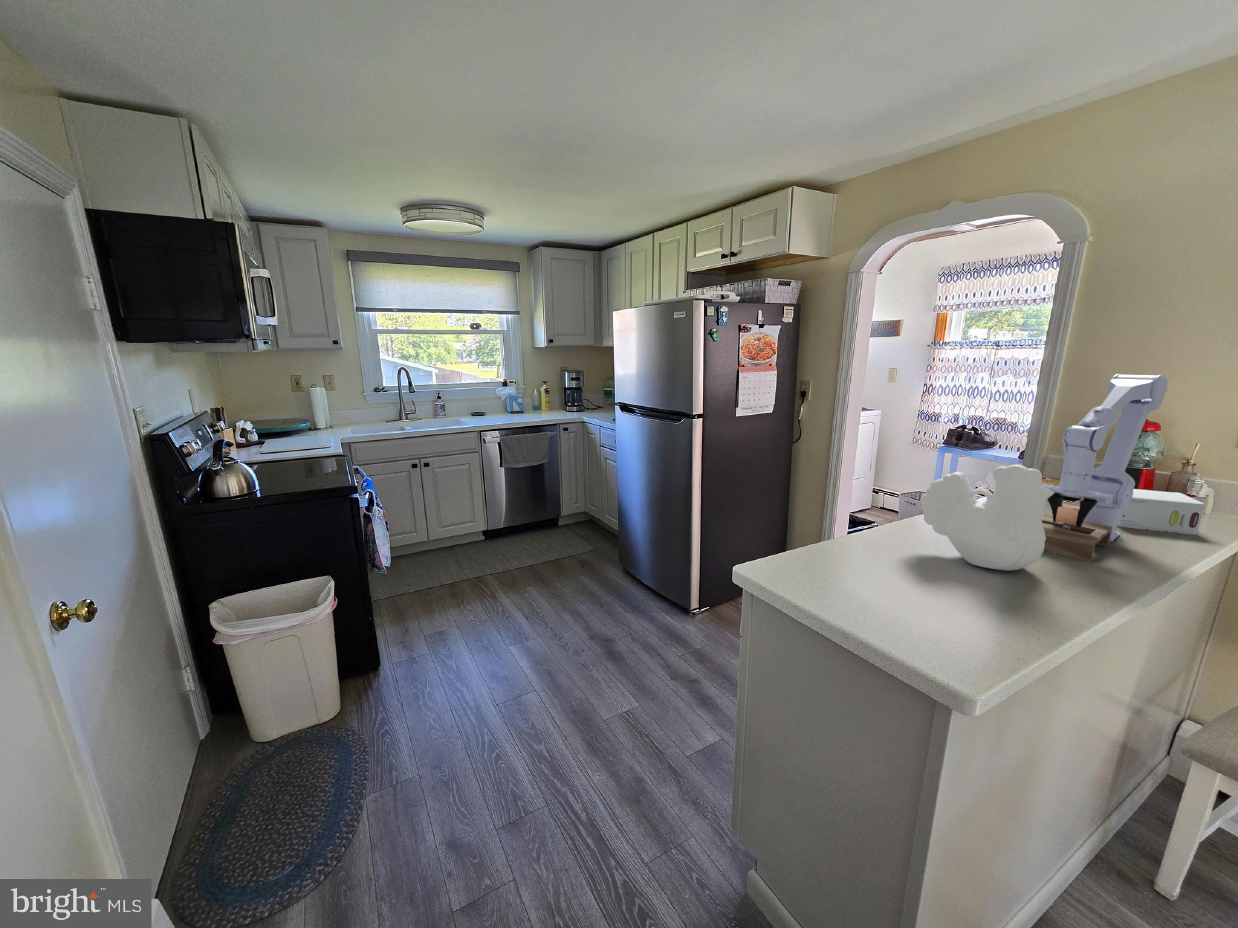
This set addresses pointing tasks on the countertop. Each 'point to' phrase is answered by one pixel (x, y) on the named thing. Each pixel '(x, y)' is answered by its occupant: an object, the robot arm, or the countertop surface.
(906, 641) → the countertop surface
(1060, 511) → the brown piece
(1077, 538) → the keyhole board
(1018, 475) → the decorative rooster
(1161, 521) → the supplement box
